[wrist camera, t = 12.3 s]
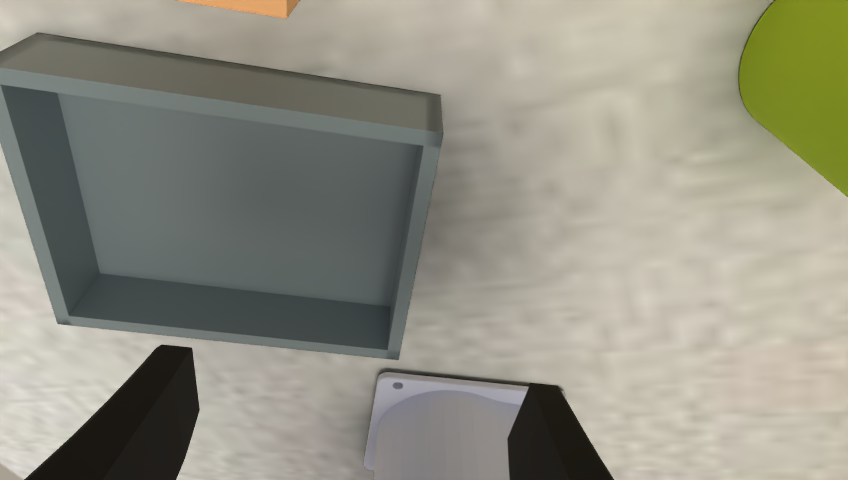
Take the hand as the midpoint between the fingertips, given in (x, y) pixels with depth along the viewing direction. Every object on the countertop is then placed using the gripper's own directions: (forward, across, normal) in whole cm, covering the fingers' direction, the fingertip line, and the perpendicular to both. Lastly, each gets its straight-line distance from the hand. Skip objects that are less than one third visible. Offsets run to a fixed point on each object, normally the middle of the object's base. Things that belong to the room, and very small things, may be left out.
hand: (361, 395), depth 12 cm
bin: (+10, +5, +2) cm, 12 cm away
